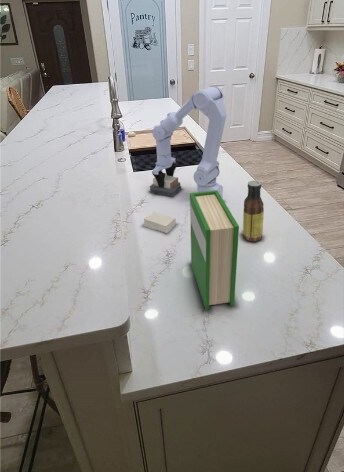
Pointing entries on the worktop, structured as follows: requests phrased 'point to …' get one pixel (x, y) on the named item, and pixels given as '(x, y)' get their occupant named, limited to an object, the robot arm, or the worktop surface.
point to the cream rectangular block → (159, 222)
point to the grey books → (166, 190)
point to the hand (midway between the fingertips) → (165, 183)
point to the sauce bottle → (253, 213)
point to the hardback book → (213, 247)
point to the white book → (168, 182)
